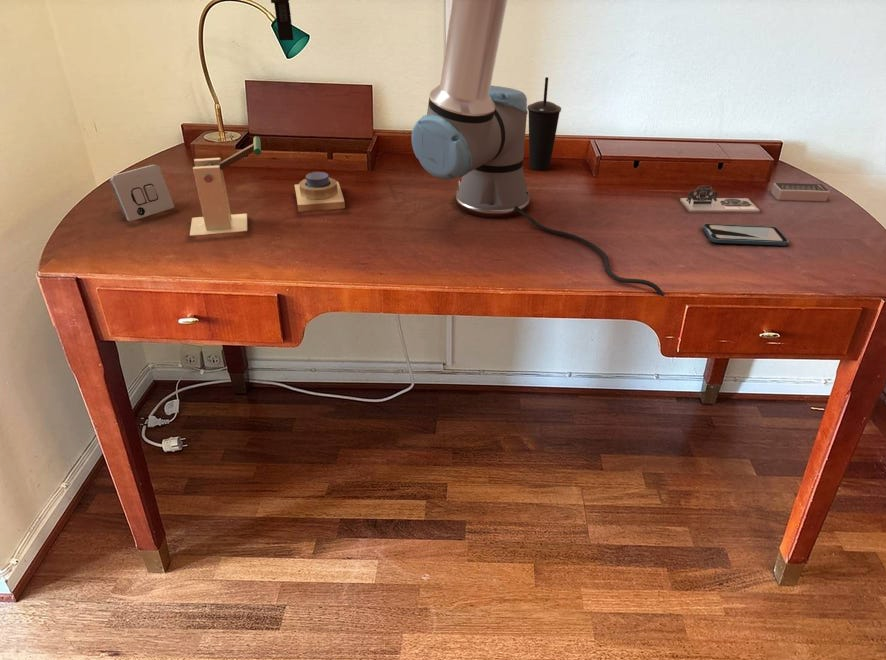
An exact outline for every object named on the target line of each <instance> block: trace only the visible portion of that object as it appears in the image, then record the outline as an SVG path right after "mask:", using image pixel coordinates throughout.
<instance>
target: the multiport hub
mask: <svg viewBox="0 0 886 660" xmlns="http://www.w3.org/2000/svg"><path fill="white" fill-rule="evenodd" d="M830 192H831V191H830V190H829V188H827V187H826V186H825V185H824V184H821V183H798V182H774V183H773V184H772V188H771V192H770V193H771V195H772V196H773V197H774V198H775V199H776V200H777V201H799V202H827V201H828V198H829V194H830Z"/></svg>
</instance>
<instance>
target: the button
mask: <svg viewBox="0 0 886 660" xmlns="http://www.w3.org/2000/svg"><path fill="white" fill-rule="evenodd" d="M329 178H330V177H329V173H327V172H324V171H313V172H308V173H307V174H306V175H305V179H306V182H307V186H308V187H312V188H322V187H326V186H328V185H329Z"/></svg>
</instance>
